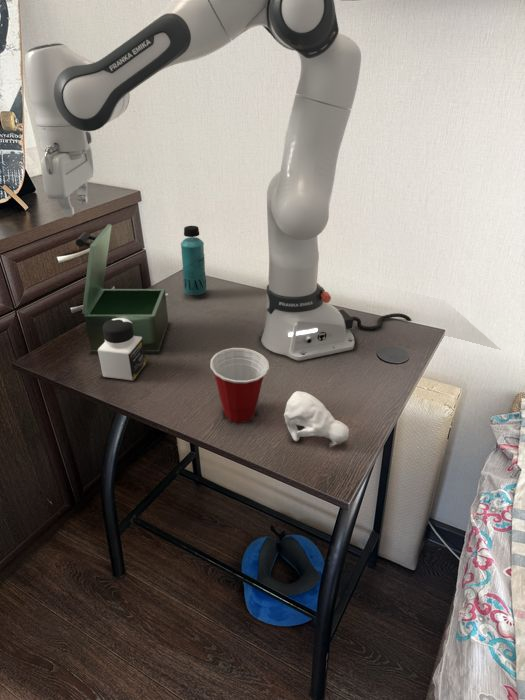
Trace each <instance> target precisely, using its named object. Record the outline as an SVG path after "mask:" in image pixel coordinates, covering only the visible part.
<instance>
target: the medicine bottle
mask: <svg viewBox="0 0 525 700" xmlns="http://www.w3.org/2000/svg"><path fill="white" fill-rule="evenodd" d="M103 333H104V338H105V342H104V343H103V344H102V345H101V347H100V348H99V349H98V353H97V354H98V358H99V365H100V367H101V374H102V377H104V378H109V379H118V380H125V381H134V380H135V379H136V378H137V376H138V375H139V373H141V372H142V371H141V370H142V369H143V368H144V367H145V366H146V364H147V361H146V355H145V354H146V353H144V346H143V339H142V337H140V336H134V332H133V326H132V322H131V321H130V320H128V319H125V318H115V319H111V320H109V321H107V322H106V323H105V324H104V325H103Z"/></svg>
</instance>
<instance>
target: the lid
mask: <svg viewBox="0 0 525 700" xmlns="http://www.w3.org/2000/svg"><path fill="white" fill-rule="evenodd" d="M112 226H113V225H112V224H111V223H108V224H107V225H106V226H105V227H104V229H102V231H101V232H100V233H99V235H97V236H95V235H91V233H90V232H88V231H84V232H83V233H82V234H81V235H80V236H78V238H77V239H76V240H75V245H76V246H77V247H79V248H83V247H88V248H89V252H88V259H87V260H88V261H87V269H86V270H87V271H86V277H85V285H84V293H83V302H82V303H83V304H82V310H81V311H82V312H81V314H82V315H86V313H87V312H88V310H89V309H90V307H91V305H92V304H93V302H94V301H95V299H96V298H97V296H98V295H99V293H100V292H101V290H102V289H104V285H105V277H106V270H107V263H108V254H109V247H110V241H111V233H112ZM90 240H91V241H92V242H89V241H90Z"/></svg>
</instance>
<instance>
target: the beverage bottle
mask: <svg viewBox="0 0 525 700" xmlns="http://www.w3.org/2000/svg"><path fill="white" fill-rule="evenodd" d="M183 236H184V237H186V238H184V239H183V240H181V243H180V247H181V248H180V249H181V260H182V262H181V263H182V281H183V291H184V293H185V294H187V295H190V296H198V295H202V294H204V293H205V292H206V290H207V277H206V276H207V275H206V274H207V273H206V263H205V262H206V258H205V257H206V253H205V249H204V245H205V242H204V241H203V240H202V239H201V238H199V236H200V229H199V226H197V225H187V226H185V227H184V228H183Z"/></svg>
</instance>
